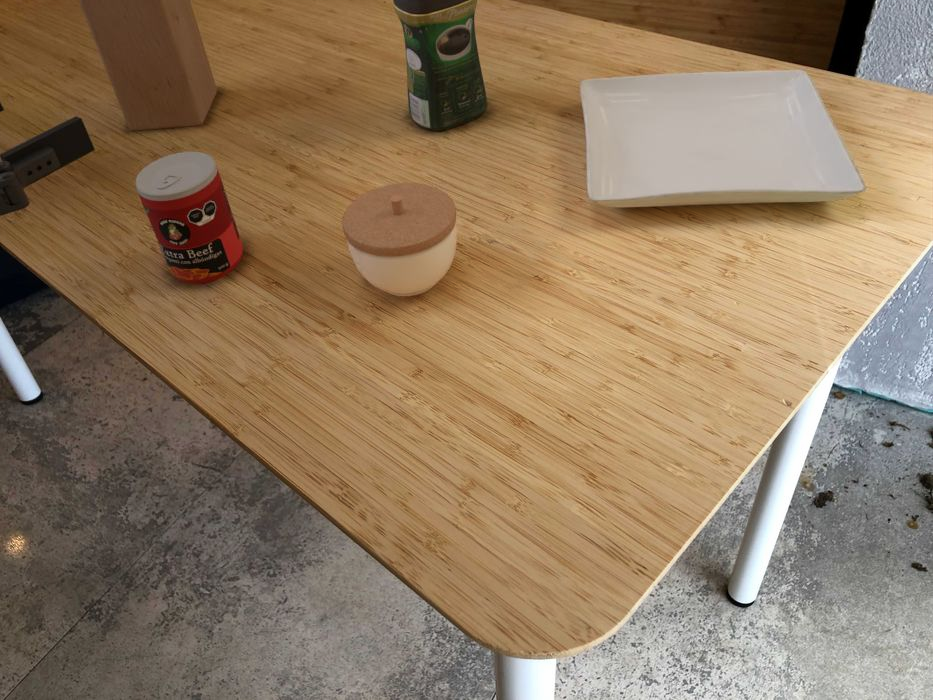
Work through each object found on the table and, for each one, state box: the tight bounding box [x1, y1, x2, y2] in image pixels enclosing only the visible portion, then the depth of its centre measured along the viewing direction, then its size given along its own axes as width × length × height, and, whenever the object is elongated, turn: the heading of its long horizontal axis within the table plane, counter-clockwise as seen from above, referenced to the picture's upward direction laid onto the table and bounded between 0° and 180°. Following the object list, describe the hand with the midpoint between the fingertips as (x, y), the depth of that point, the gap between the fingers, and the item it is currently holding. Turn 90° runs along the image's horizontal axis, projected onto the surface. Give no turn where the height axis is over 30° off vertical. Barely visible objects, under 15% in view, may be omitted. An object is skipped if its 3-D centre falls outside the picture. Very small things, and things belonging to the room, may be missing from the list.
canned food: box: [134, 151, 244, 285], centre depth 85 cm, size 8×8×11 cm
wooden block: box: [78, 0, 218, 132], centre depth 109 cm, size 10×10×20 cm
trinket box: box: [341, 182, 458, 297], centre depth 81 cm, size 11×11×9 cm
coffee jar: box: [392, 0, 488, 132], centre depth 102 cm, size 10×8×19 cm
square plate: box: [579, 69, 867, 208], centre depth 95 cm, size 27×27×4 cm
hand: (38, 112), depth 69 cm, fingers open, 13 cm apart
